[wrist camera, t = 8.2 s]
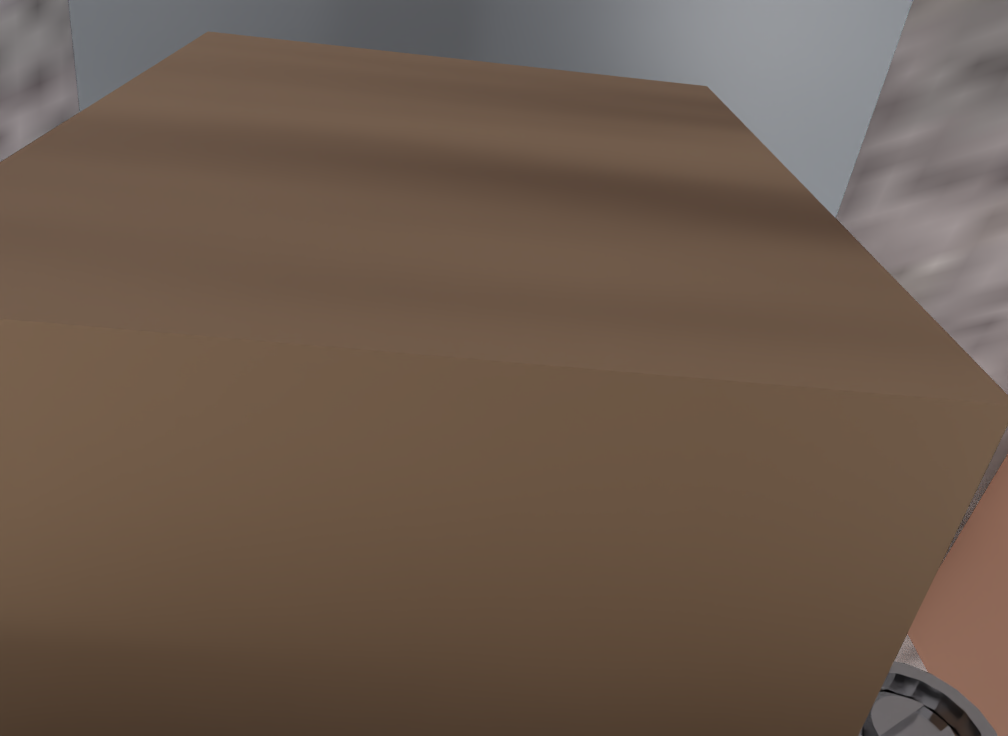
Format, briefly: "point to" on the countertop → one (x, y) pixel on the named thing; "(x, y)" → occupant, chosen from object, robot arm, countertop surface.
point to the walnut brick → (454, 412)
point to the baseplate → (571, 52)
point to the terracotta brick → (972, 609)
